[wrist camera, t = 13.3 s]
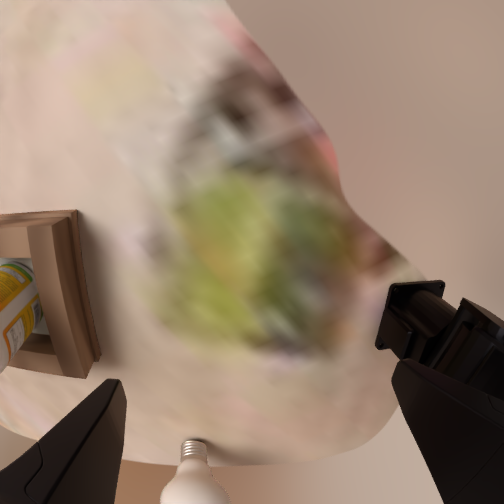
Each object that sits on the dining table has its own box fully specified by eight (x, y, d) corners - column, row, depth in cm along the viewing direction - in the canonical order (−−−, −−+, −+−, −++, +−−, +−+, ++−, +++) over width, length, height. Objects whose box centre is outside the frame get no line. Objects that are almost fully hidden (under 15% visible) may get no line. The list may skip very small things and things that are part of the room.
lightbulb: (178, 460, 28) (178, 542, 17) (153, 430, 26) (145, 523, 15) (231, 452, 28) (243, 536, 18) (212, 420, 26) (220, 519, 16)
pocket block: (76, 209, 18) (54, 221, 15) (101, 354, 22) (89, 381, 19) (-33, 217, 17) (-58, 228, 13) (-3, 340, 20) (-19, 361, 17)
